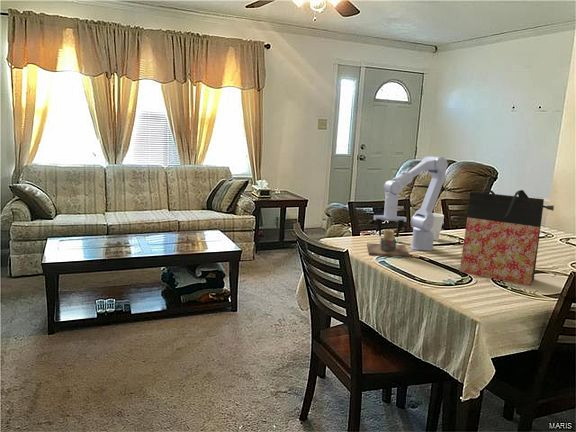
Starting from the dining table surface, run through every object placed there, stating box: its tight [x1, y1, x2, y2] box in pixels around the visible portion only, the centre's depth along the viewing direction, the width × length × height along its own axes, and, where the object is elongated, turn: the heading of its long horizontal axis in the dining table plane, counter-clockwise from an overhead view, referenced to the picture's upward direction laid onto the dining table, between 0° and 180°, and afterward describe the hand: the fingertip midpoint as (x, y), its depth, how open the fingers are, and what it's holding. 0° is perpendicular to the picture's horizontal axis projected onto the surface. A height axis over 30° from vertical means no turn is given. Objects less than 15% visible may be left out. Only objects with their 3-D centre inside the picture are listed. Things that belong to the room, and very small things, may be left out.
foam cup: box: [430, 212, 445, 241], centre depth 241 cm, size 10×9×13 cm
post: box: [383, 229, 395, 241], centre depth 214 cm, size 4×4×8 cm
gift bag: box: [459, 188, 555, 287], centre depth 179 cm, size 29×14×35 cm, turn 56°
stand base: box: [366, 237, 411, 258], centre depth 215 cm, size 18×18×6 cm
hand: (388, 236), depth 214 cm, fingers open, 7 cm apart
